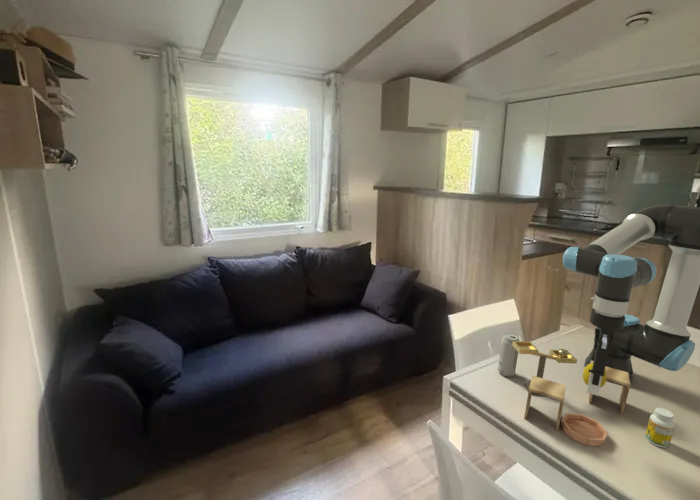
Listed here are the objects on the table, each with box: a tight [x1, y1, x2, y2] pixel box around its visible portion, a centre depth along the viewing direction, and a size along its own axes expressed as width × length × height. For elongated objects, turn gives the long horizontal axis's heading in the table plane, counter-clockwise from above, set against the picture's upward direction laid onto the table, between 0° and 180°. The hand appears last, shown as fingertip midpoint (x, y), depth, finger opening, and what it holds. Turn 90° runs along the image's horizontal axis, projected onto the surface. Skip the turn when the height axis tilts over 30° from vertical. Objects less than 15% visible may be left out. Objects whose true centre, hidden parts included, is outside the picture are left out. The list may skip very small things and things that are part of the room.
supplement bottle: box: [644, 407, 675, 449], centre depth 102 cm, size 5×5×10 cm
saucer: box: [560, 412, 609, 448], centre depth 106 cm, size 11×11×2 cm
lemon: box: [582, 363, 607, 389], centre depth 102 cm, size 6×6×8 cm
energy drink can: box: [497, 333, 520, 378], centre depth 134 cm, size 6×6×15 cm
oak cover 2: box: [588, 367, 631, 415], centre depth 119 cm, size 9×8×11 cm
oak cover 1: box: [524, 375, 567, 432], centre depth 111 cm, size 9×8×11 cm
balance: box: [512, 340, 578, 396], centre depth 124 cm, size 19×6×17 cm, turn 88°
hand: (592, 387), depth 103 cm, fingers closed on lemon, 5 cm apart
